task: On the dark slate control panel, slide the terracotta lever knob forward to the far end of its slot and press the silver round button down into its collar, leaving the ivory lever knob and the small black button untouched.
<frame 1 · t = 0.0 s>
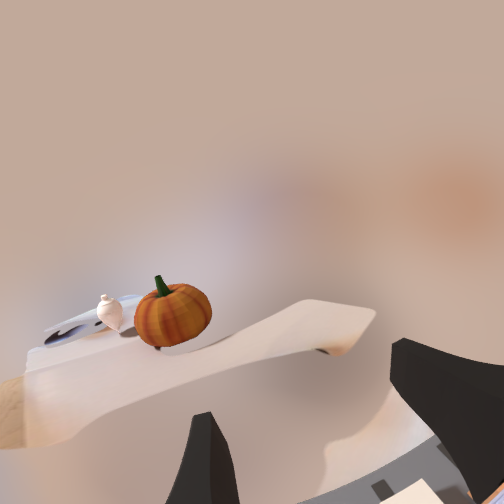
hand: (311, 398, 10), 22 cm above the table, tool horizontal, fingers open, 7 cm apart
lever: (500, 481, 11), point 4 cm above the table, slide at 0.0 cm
pumpkin: (179, 334, 68), on the table
spinning top: (119, 334, 75), on the table
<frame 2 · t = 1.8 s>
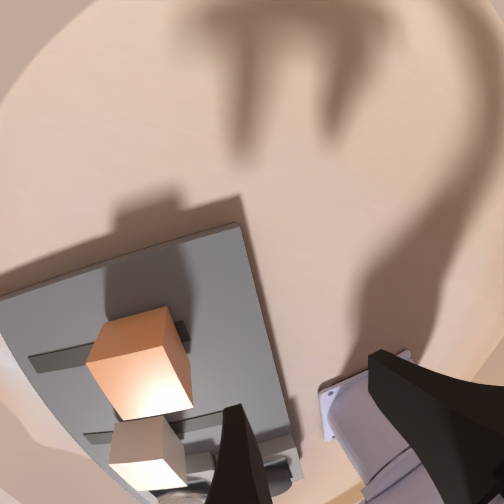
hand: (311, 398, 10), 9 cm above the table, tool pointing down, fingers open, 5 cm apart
button silver: (186, 503, 18), point 4 cm above the table, slide at 0.0 cm
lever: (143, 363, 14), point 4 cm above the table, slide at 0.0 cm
lever middle: (149, 455, 16), point 4 cm above the table, slide at 3.5 cm
panel: (167, 415, 20), on the table
button black: (267, 483, 19), point 4 cm above the table, slide at 0.0 cm
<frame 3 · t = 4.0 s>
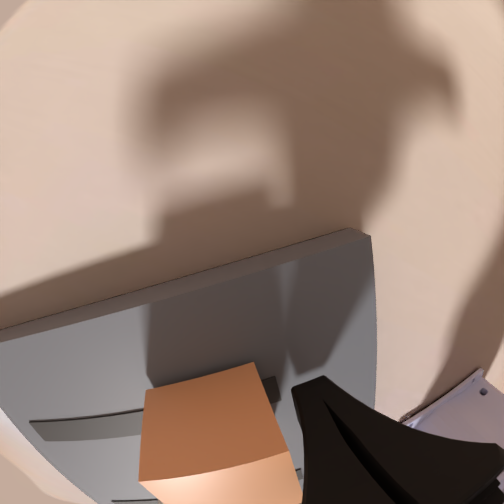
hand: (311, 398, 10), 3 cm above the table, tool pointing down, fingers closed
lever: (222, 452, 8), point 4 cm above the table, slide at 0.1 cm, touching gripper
panel: (223, 475, 14), on the table
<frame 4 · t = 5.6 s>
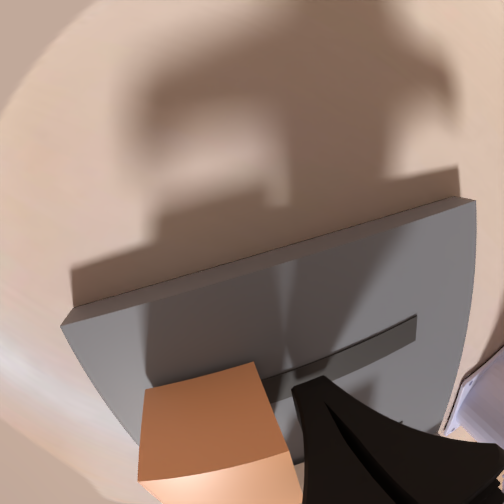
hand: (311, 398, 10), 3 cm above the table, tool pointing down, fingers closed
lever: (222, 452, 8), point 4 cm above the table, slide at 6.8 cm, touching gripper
lever middle: (327, 498, 11), point 4 cm above the table, slide at 3.5 cm
panel: (327, 442, 15), on the table
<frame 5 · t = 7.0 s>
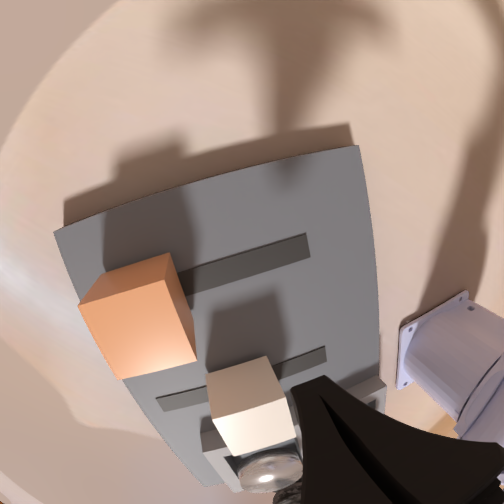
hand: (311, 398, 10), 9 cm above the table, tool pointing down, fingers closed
button silver: (270, 472, 18), point 4 cm above the table, slide at 0.0 cm
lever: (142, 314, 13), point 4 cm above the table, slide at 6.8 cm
lever middle: (250, 407, 16), point 4 cm above the table, slide at 3.5 cm
panel: (258, 363, 20), on the table
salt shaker: (288, 480, 26), on the table
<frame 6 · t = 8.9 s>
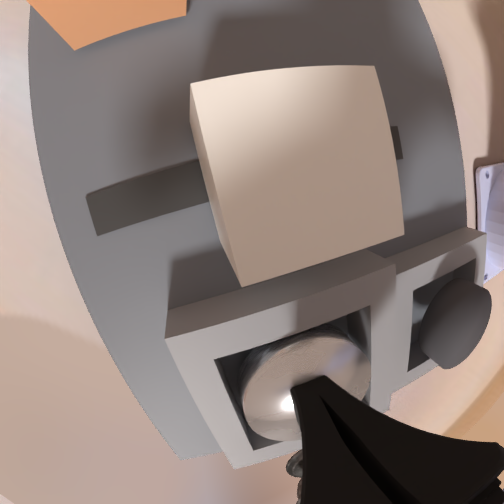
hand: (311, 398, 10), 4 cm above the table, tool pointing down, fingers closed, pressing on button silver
button silver: (305, 386, 10), point 3 cm above the table, slide at 1.2 cm, touching gripper
lever middle: (284, 164, 7), point 4 cm above the table, slide at 3.5 cm
panel: (289, 159, 11), on the table
button black: (457, 324, 11), point 4 cm above the table, slide at 0.0 cm
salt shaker: (319, 455, 17), on the table
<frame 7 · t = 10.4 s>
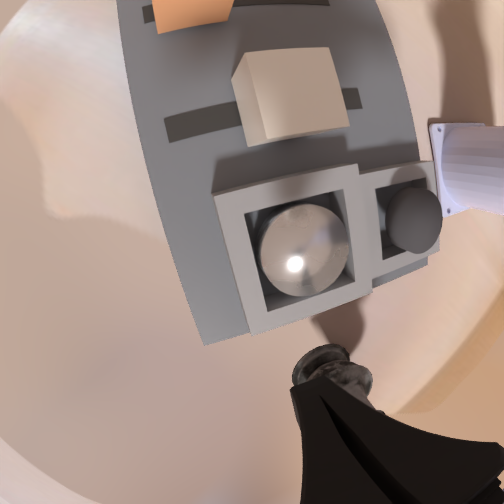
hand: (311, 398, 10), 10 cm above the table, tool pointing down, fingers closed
button silver: (302, 248, 16), point 3 cm above the table, slide at 1.4 cm
lever middle: (285, 98, 13), point 4 cm above the table, slide at 3.5 cm
panel: (288, 109, 17), on the table
button black: (415, 219, 16), point 4 cm above the table, slide at 0.0 cm
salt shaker: (320, 368, 23), on the table
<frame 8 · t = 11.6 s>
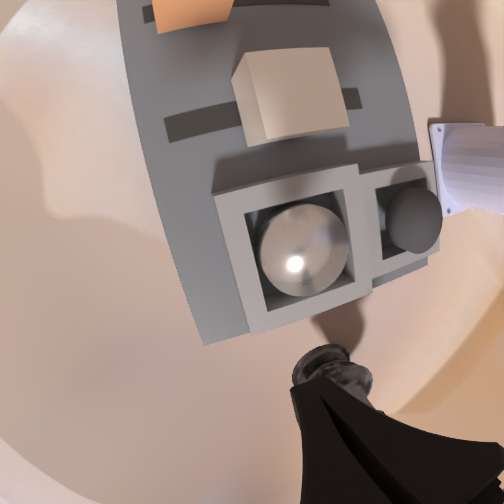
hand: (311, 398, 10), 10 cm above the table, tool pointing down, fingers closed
button silver: (302, 248, 16), point 3 cm above the table, slide at 1.4 cm
lever middle: (285, 98, 13), point 4 cm above the table, slide at 3.5 cm
panel: (288, 109, 17), on the table
button black: (415, 219, 16), point 4 cm above the table, slide at 0.0 cm
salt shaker: (320, 368, 23), on the table
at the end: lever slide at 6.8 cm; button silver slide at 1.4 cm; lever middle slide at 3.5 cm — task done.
